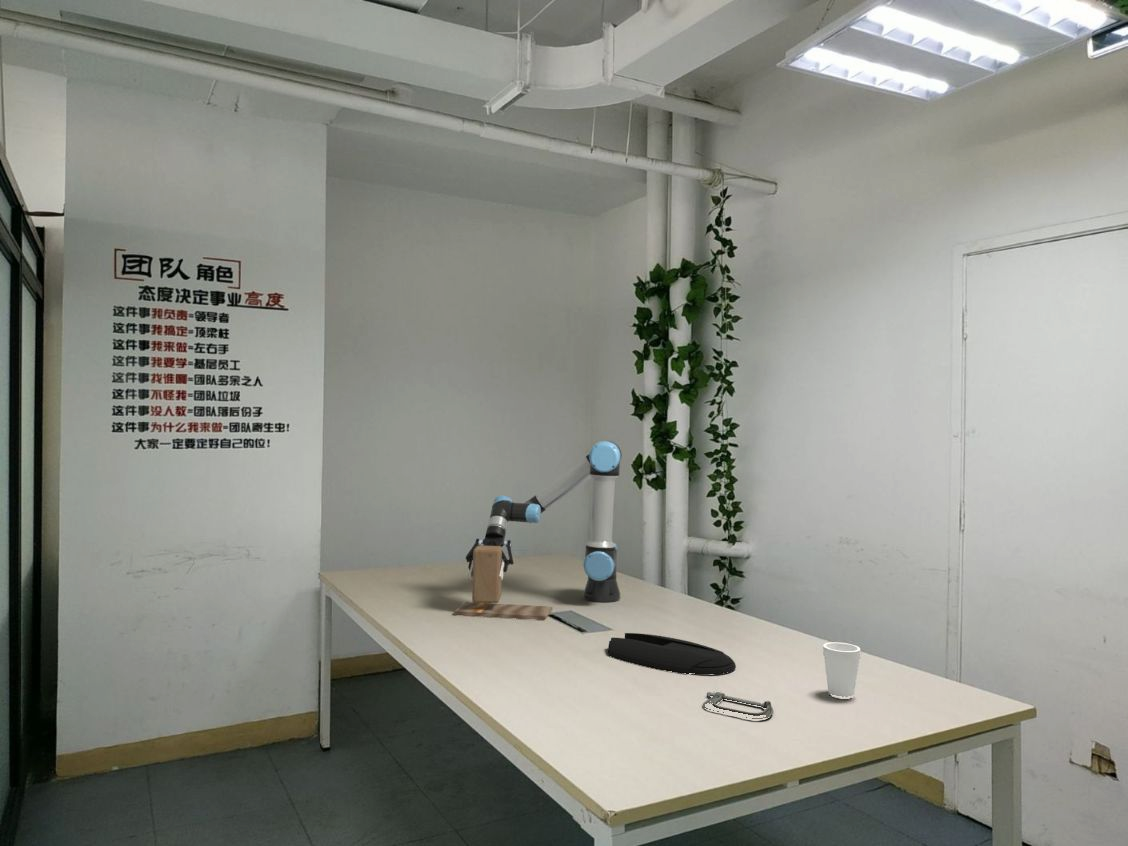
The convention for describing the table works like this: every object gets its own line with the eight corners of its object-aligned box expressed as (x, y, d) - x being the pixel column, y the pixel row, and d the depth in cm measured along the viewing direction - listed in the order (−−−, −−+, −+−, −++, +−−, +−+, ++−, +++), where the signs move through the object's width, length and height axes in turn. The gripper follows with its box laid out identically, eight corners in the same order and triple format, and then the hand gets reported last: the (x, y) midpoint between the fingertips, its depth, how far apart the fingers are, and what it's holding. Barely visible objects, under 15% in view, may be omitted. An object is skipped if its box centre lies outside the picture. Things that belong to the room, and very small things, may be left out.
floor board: (552, 610, 309) (552, 606, 309) (544, 620, 294) (544, 615, 294) (466, 605, 315) (466, 601, 315) (454, 615, 299) (454, 610, 299)
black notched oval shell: (711, 684, 226) (711, 666, 226) (594, 656, 251) (594, 640, 251) (751, 664, 245) (751, 647, 245) (638, 640, 271) (638, 625, 271)
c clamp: (686, 708, 207) (686, 697, 207) (719, 691, 220) (719, 681, 220) (759, 728, 194) (760, 716, 194) (790, 709, 207) (790, 698, 207)
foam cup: (830, 687, 224) (831, 640, 224) (864, 695, 218) (865, 646, 218) (817, 696, 216) (817, 647, 216) (851, 704, 210) (852, 654, 210)
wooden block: (498, 603, 300) (499, 549, 300) (471, 603, 300) (473, 549, 300) (501, 598, 310) (502, 545, 310) (475, 597, 310) (476, 545, 310)
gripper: (526, 537, 319) (517, 584, 303) (469, 535, 322) (457, 581, 307) (524, 525, 313) (514, 573, 298) (465, 523, 317) (453, 570, 302)
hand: (485, 577), depth 302 cm, fingers closed on wooden block, 11 cm apart
